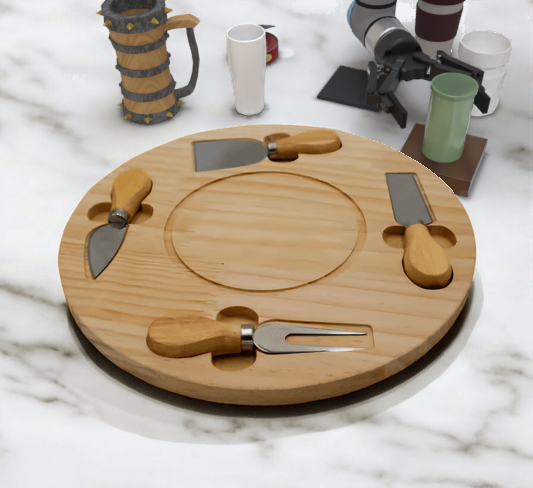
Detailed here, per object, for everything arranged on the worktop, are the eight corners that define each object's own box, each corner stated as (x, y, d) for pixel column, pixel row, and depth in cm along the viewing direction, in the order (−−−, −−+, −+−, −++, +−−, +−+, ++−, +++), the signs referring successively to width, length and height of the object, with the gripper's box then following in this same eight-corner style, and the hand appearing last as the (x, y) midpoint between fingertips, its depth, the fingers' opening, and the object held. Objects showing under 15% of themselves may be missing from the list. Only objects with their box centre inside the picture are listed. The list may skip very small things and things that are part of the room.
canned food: (236, 84, 135) (209, 44, 129) (251, 56, 141) (227, 16, 135) (281, 69, 128) (255, 26, 123) (295, 40, 134) (271, -2, 128)
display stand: (484, 153, 108) (488, 138, 106) (467, 197, 100) (470, 181, 98) (413, 137, 112) (415, 122, 110) (392, 177, 104) (394, 162, 102)
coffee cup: (447, 68, 128) (460, -7, 117) (399, 56, 131) (409, -17, 121) (464, 46, 133) (478, -27, 123) (418, 36, 137) (429, -36, 127)
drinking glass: (244, 123, 116) (239, 45, 106) (224, 106, 121) (218, 30, 110) (275, 110, 119) (273, 34, 108) (255, 94, 123) (251, 19, 113)
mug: (122, 91, 126) (100, -12, 112) (211, 87, 125) (200, -15, 111) (111, 129, 116) (86, 23, 102) (207, 126, 116) (195, 19, 102)
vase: (487, 121, 114) (502, 59, 106) (440, 107, 118) (451, 46, 110) (504, 98, 119) (520, 37, 111) (459, 85, 123) (471, 25, 115)
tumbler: (468, 143, 105) (483, 77, 97) (457, 167, 101) (472, 100, 92) (426, 134, 107) (437, 68, 99) (415, 157, 103) (425, 91, 95)
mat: (398, 79, 125) (399, 77, 125) (378, 112, 118) (378, 109, 117) (340, 67, 129) (340, 65, 129) (317, 98, 122) (317, 95, 121)
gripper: (455, 57, 119) (514, 120, 104) (325, 78, 115) (367, 147, 101) (462, 18, 114) (526, 79, 99) (326, 39, 110) (371, 105, 95)
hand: (446, 113), depth 100 cm, fingers open, 13 cm apart
